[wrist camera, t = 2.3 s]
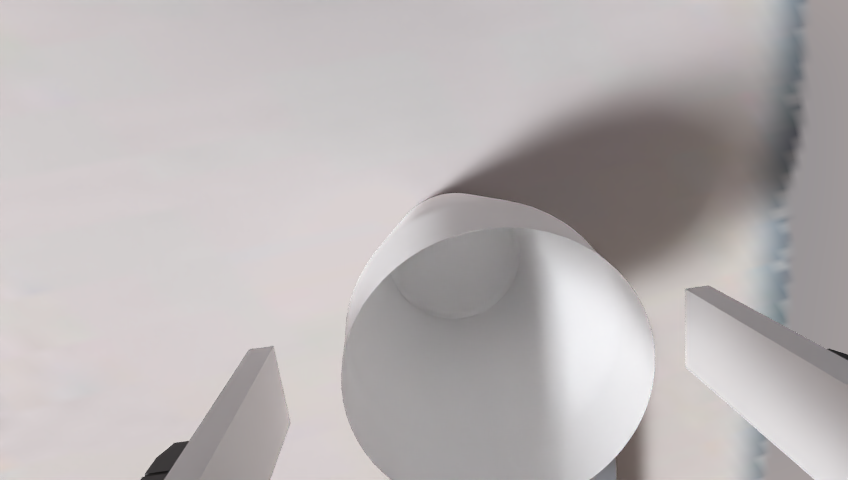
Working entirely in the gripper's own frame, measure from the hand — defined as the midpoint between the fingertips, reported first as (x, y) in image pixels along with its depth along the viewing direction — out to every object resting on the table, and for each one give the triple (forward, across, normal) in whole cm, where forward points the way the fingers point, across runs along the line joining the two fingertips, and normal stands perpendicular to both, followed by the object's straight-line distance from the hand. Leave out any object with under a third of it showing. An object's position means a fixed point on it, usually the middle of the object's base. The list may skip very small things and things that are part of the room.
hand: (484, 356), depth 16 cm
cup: (+10, 0, 0) cm, 10 cm away
